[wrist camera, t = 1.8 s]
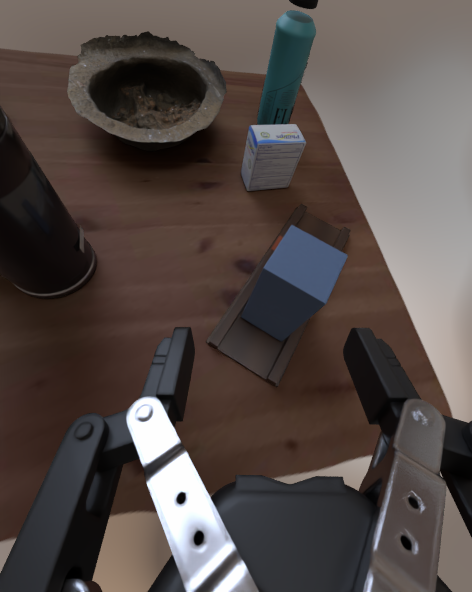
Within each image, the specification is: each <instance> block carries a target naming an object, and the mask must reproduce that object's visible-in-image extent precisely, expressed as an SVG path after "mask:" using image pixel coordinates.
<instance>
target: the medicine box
mask: <svg viewBox="0 0 472 592" xmlns="http://www.w3.org/2000/svg"><path fill="white" fill-rule="evenodd" d="M305 145H306V141H305V140H304V138H303V136H302V134H301V132H300V130H299V129H298V127H297V125H296V124H285V125H283V124H281V125H251V126H250V127H249V131H248V137H247V142H246V148H245V153H244V159H243V165H242V170H241V175H242V178H243V181H244V184H245V186H246V189H247V191H254V190H265V189H275V188H287V187H288V186H289V184H290V181H291V179H292V176H293V174H294V171H295V169H296V166H297V164H298V162H299V159H300V157H301V154H302V152H303V149H304V147H305Z"/></svg>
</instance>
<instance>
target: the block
mask: <svg viewBox="0 0 472 592" xmlns="http://www.w3.org/2000/svg"><path fill="white" fill-rule="evenodd" d="M347 256H348V255H346V254H344V253H343V252H341V251H339V250H337V249H335V248H333V247H332V246H330V245H328V244H326V243H324V242H323V241H321V240H319V239H317V238H315V237H313V236H312V235H310V234H308V233H306V232H304V231H302V230H301V229H299V228H297V227H295V226H293V225H291V226H290V228H289V229H288V231H287V232H286V234H285V235H284V237H283V238H282V240H281V242H280V243H279V245H278V246H277V248H276V249H275V251H274V252H273V254H272V255H271V257H270V258H269V260H268V261H267V263H266V264H265V266H264V267H263V270H262V272H261V274H260V276H259V278H258V281H257V283H256V285H255V287H254V289H253V292H252V294H251V296H250V298H249V300H248V303H247V305H246V307H245V309H244V311H243V314H242V316H241V317H242V318H243V319H245V320H247V321H248V322H250V323H251V324H253V325H255V326H256V327H258V328H260V329H261V330H263V331H265V332H266V333H268V334H269V335H271V336H273V337H274V338H276V339H278V340H279V341H281V342H282V341H283V340H284V339H285V338H287V337H288V336H289V335H290V334H291V333H292V332H294V331H295V330H296V329H297V328H298V327H299V326H301V325H302V324H303V323H304V322H305V321H306V320H308V319H309V318H310V317H311V316H312V315H313V314H315V313H316V312H317V311H318V310H319V309H321V308H322V307H323V306H324V305H325V304H326V303H327V300H328V298H329V296H330V294H331V292H332V289H333V287H334V285H335V283H336V281H337V278H338V276H339V274H340V272H341V270H342V267H343V265H344V263H345V261H346V259H347Z"/></svg>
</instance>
